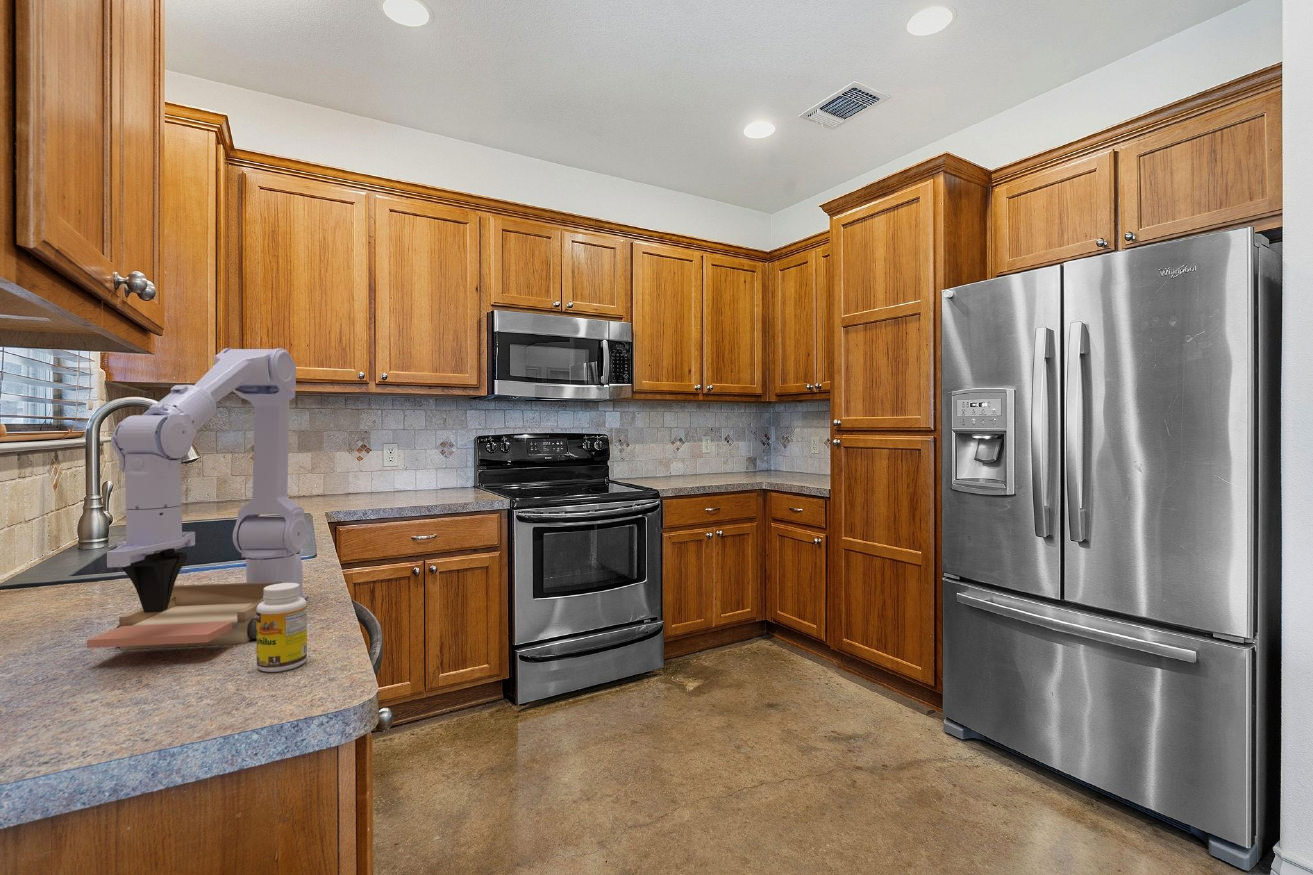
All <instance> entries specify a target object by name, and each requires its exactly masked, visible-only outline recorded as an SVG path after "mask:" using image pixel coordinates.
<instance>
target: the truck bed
mask: <svg viewBox="0 0 1313 875" xmlns="http://www.w3.org/2000/svg"><path fill="white" fill-rule="evenodd" d="M280 583H282V582H259V583H246V582H234V583H210V584H209V583H208V584H207V583H206V584H203V583H202V584H182V585H181V584H179V585H175V584H174V587H173V590H172V594H171V598H170V602H169V605H168V608H167V609H166V610H164V611H162V612H150V613H144V610H143V608H142V607H140V608H137V609H136V610H132V611H130V612H128V613H126V614H124V615H121V616H119V617H118V618H119V619H118V622H119V624H118V625H117V626H116V627H115V629H116V628H119V627H121V626H137V625H160V624H183V623H205V622H228V621H234V622H236V623H237V625H236V627H235V628H234V629H232V630H230V631H228V632H226V633H224V634H222V635H220V636H218V637H217V638H215V639H213V640H211V641H209V642H201V643H181V644H160V645H139V646H118V647H119V650H138V649H140V650H141V649H142V650H144V649H158V648H159V649H160V648H162V649H164V648H179V647H180V648H182V647H200V646H202V647H203V646H221V645H222V646H224V645H242V644H247V643H248V642H250V641H251V640H256V639H257V634H256V632H257V631H256V608H257V606H258V605H259V604H260V603H261V602H263V601H264V600H263V598H264V597H263V595H264V588H265V587H267V586H270V585H274V584H280Z"/></svg>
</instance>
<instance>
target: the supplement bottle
mask: <svg viewBox="0 0 1313 875" xmlns="http://www.w3.org/2000/svg"><path fill="white" fill-rule="evenodd" d="M299 593H300V592H299V584H297V583H280V584H274V585H270V586H267V587H265V588H264V595H263V597H264V598H263V600H264V601H263V602H261V603H260V604H259V605H258V606H257V608H256V631H257V632H256V634H257V639H255V640H256V667H257V669H258V670H260V671H262V672H264V673H265V672H266V673H267V672H268V673H278V672H279V673H280V672H284V671H285V672H286V671H290V670H292V669H295V668H298V667H300V666H302V665H303V664H304V663H305V662H306V660H307V658H308V654H307V653H308V651H307V650H308V635H307V634H308V632H307V631H308V628H307V627H308V622H307V619H308V617H307V616H308V614H307V610H308V609H307V607H308V606H307V604H308V603H307V600H306V599H303V598H301V597H299V596H300V594H299Z"/></svg>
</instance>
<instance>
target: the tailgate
mask: <svg viewBox="0 0 1313 875" xmlns="http://www.w3.org/2000/svg"><path fill="white" fill-rule="evenodd" d="M236 625H237V623H236V622H234V621H228V622H205V623H183V624H160V625H137V626H121V627H119V628H116V627H115V628H114V629H112V630H109V631H106V632H104V633H101V634H98V635H97V636H94V637H90V638H88V639H87V640H86V649H95V648H97V649H98V648H115V647H116V648H117V647H119V646H139V645H160V644H181V643H201V642H209V641H211V640H213V639H215V638H217V637H218V636H220V635H222V634H224V633H226V632H228V631H230V630H232V629H234V628H235V627H236Z"/></svg>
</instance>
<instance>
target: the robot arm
mask: <svg viewBox="0 0 1313 875" xmlns="http://www.w3.org/2000/svg"><path fill="white" fill-rule="evenodd" d="M296 381H297V365H296V363H295V361H294V360H293V358H292V356H291V354H290V353H289V352H288V351H287V350H286V349H285V348H282V347H281V348H280V347H279V348H236V349H235V348H232V347H231V348H229V347H228V348H227V347H226V348H224V349H222V350H221V351H219V353H217V354H215V355H214V358H213V366H212V367H211V368H210V369H209V370H208V371H207V372H206V373H205V374H204V375H203V376H202V377H201V378H200V379H199V380H198V381H197V382H196V383H195V384H194V385H193V384H176V385H174V386H173V387H171V388H170V392H169V393H168V394H167V395H166V396H164V397H163V398H161V399H160V400H159V401H157V403H153V404H152V405H151V406H149V408H148V409H147V410H146V411H144V413H142V414H139V415H137V414H136V415H135V414H134V415H129V416H128V417H125V418H124V419H123V420H121V421H120V422H119V423H117V425H116V427H115V429H114V433H113V436H111V437H110V441H111V446H112V449H113V450H114V452H115V454H116V455H117V456H118V459H119V468H120V469H121V473H124V475H125V476H124V477H125V478H124V479H125V482H124V483H125V484H124V486H125V487H124V488H125V489H124V491H125V537H126V538H125V539H126V540H121V541H118V542H117V543H116V548H114V549H111V550H108V551H106V567H107V568H121V570H122V571H123V572H124V573H125V575H126V576H127V577H128V578H129V580H130V581H131V582H132V584H133V586H134V589H135V590H136V593H137V595H138V599H139V601H140V605H141V608H143V610H144V613H150V612H162V611H164V610H166V609H167V608H168V605H169V602H170V598H171V594H172V590H173V587H174V586H175V584H176V581H177V578H178V576H179V573H180V571H181V570H182V568H183V567H184V565H185V563H186V561H187V560H188V553H187V552H178V551H175V550H178V549H182V548H184V547H193V546H195V545H196V531H183V521H182V520H183V517H182V516H183V514H182V513H183V512H182V511H183V509H182V508H183V507H182V506H183V505H182V503H183V502H182V458H183V457H185V455H188V454H189V452H190V451H191V449H192V446H193V440H194V438H195V437H196V436H197V435H196V434H197V431H199V430H200V429H201V427H203V426H204V425H205V424H206V423H207V422H208V421H209V420H210V419H212V418H213V417H214V416H215V415H216V412H217V402H219V401H221V399H222V400H223V398H224V397H226V396H227V395H229V394H230V393H232V392H234V393H235V394H236V395H237V396H239V397H240V398H241V399H244V400H246V401H248V402H249V403H250V404H251V405H252V406H253V407H254V418H253V419H254V420H253V422H254V423H253V424H254V425H253V459H252V460H253V464H252V499H251V500H249V501H248V502H247V503H246V504H244V505H243V506H241V507H240V508H239V509H238V511H237V514H236V515H237V516H236V522H235V526H234V528H233V531H232V542H233V545H234V547H235V549H236V550H237V551H238V552H239V553H240V554H241V558H245V563H246V564H245V567H246V569H245V570H246V571H245V572H246V582H245V583H259V582H282V583H297V584H299V592H300V593H299V594H300V596H299V597H301V598H303V599H305V600H306V599H308V597H309V594H303V589H304V588H303V561H302V559H301V556H299V555H298V554H299V553H300V551H301V549H303V547H304V546H305V544H306V541H307V538H308V526H307V523H306V519H305V509H304V508H303V507H302V506H301V505H300V504H298V503H297V502H295V501H294V500H292V499H290V497H288V492H289V491H288V488H289V487H288V486H289V485H288V483H289V480H288V479H289V478H288V476H289V444H290V442H289V437H290V436H289V433H290V401H291V400H293V399H295V397H296V389H297V387H296V386H297V384H296ZM262 515H263V516H262ZM264 515H278V516H264Z"/></svg>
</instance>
